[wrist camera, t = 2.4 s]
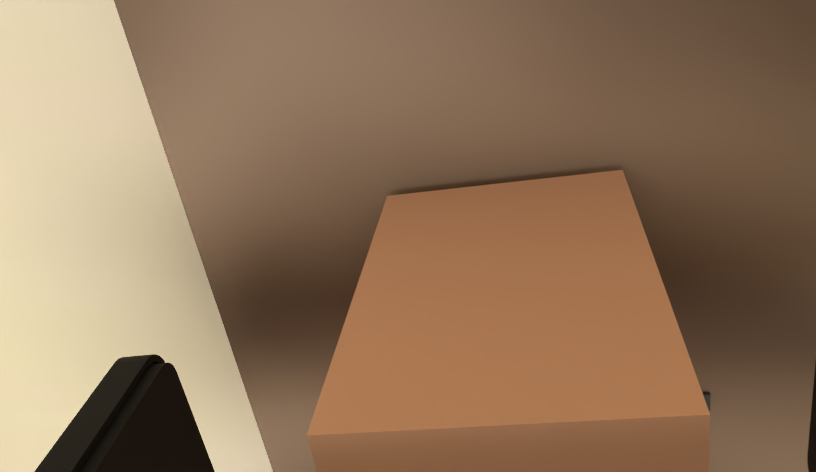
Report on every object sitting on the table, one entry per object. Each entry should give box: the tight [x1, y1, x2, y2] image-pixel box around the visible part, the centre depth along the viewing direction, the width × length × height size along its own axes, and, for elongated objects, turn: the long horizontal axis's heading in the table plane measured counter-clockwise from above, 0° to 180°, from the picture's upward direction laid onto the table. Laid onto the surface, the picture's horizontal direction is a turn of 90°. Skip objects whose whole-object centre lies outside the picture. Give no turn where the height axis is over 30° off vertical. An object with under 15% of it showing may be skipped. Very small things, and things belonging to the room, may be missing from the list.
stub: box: [306, 170, 710, 472], centre depth 11 cm, size 5×4×6 cm
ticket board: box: [114, 0, 816, 472], centre depth 13 cm, size 24×12×6 cm, turn 10°
